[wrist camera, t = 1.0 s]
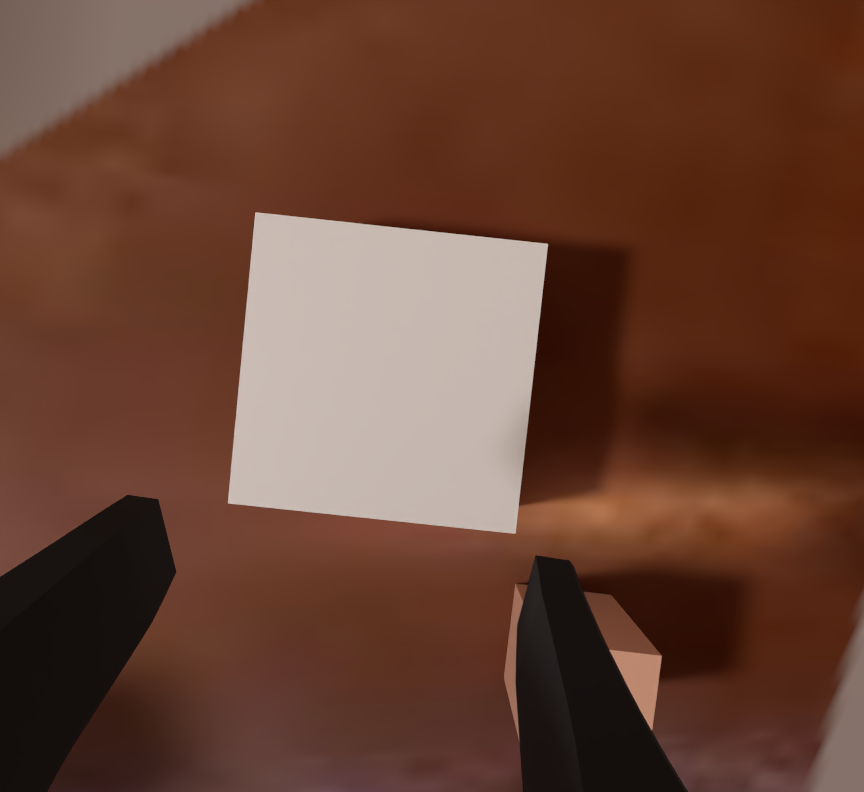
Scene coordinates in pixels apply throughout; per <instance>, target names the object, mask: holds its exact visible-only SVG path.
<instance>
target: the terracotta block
mask: <svg viewBox="0 0 864 792" xmlns="http://www.w3.org/2000/svg"><path fill="white" fill-rule="evenodd" d="M527 586H528V585H523V584H515V592H514V600H513V608H512V616H511V624H510V632H509V641H508V649H507V657H506V665H505V673H504V680H505V684H506V688H507V693H508V697H509V701H510V705H511V709H512V713H513V717H514V721H515V725H516V730H517V734H518V738H519V727H518V712H517V698H516V683H515V679H516V641H517V623H518V620H519V616H520V612H521V608H522V605H523V601H524V597H525V593H526V590H527ZM584 594H585V597H586V599H587V601H588V604H589V606H590V608H591V611H592V613H593V615H594V617H595V620H596V622H597V624H598V626H599V629H600V631H601V633H602V635H603V637H604V639H605V642H606V644H607V646H608V648H609V650H610V652H611V654H612V656H613V658H614V660H615V662H616V664H617V666H618V668H619V670H620V672H621V674H622V676H623V678H624V680H625V682H626V684H627V686H628V688H629V690H630V692H631V694H632V696H633V697H634V699H635V701H636V703H637V705H638V707H639V709H640V711H641V712H642V714H643V716H644V718H645V720H646V721H647V723H648V725H649V727H650V728H651V730H652V727H653V719H654V712H655V704H656V697H657V689H658V682H659V674H660V667H661V659H662V655H661V654H660V653H659V652H658V651H657V649H656V648H655V647H654V646H653V645H652V643H651V642H650V641H649V640H648V639H647V637H646V636H645V635H644V634H643V633H642V631H641V630H640V629H639V628H638V626H637V625H636V624H635V623H634V622H633V620H632V619H631V618H630V617H629V616H628V614H627V613H626V612H625V611H624V610H623V608H622V607H621V606H620V605H619V604H618V602H617V601H616V600H615V599H614V598H613V596H612V595H609V594H600V593H592V592H584ZM519 742H520V741H519Z"/></svg>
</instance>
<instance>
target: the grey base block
mask: <svg viewBox="0 0 864 792" xmlns="http://www.w3.org/2000/svg"><path fill="white" fill-rule="evenodd" d="M547 249H548V244H545V243H535V242H526V241H517V240H507V239H498V238H489V237H479V236H470V235H461V234H451V233H442V232H433V231H424V230H414V229H405V228H396V227H386V226H377V225H368V224H358V223H349V222H340V221H330V220H321V219H312V218H302V217H293V216H284V215H274V214H265V213H256V212H255V222H254V233H253V243H252V254H251V265H250V275H249V286H248V296H247V307H246V317H245V328H244V339H243V349H242V360H241V370H240V381H239V391H238V402H237V413H236V423H235V434H234V444H233V455H232V465H231V476H230V487H229V497H228V503H230V504H240V505H249V506H259V507H268V508H278V509H287V510H296V511H306V512H315V513H325V514H334V515H344V516H353V517H363V518H372V519H382V520H391V521H400V522H410V523H419V524H429V525H438V526H448V527H457V528H467V529H476V530H485V531H495V532H504V533H514V534H516V525H517V516H518V507H519V498H520V489H521V480H522V471H523V463H524V454H525V445H526V436H527V427H528V418H529V409H530V400H531V391H532V383H533V374H534V365H535V356H536V347H537V338H538V329H539V320H540V312H541V303H542V294H543V285H544V276H545V267H546V258H547Z"/></svg>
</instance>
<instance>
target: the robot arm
mask: <svg viewBox="0 0 864 792" xmlns="http://www.w3.org/2000/svg"><path fill="white" fill-rule="evenodd" d="M175 574H176V569H175V565H174V561H173V557H172V553H171V549H170V545H169V541H168V537H167V533H166V529H165V525H164V521H163V517H162V513H161V509H160V505H159V501H158V499H152V498H145V497H138V496H132V495H127V496H125V497H124V498H122V499H120V500H119V501H117V502H115V503H114V504H112V505H111V506H109V507H108V508H106V509H104V510H103V511H101V512H100V513H98V514H97V515H95V516H94V517H92V518H91V519H89V520H88V521H86V522H85V523H83V524H81V525H80V526H78V527H77V528H75V529H74V530H72V531H71V532H69V533H68V534H66V535H65V536H63V537H62V538H60V539H59V540H57V541H56V542H54V543H53V544H51V545H49V546H48V547H46V548H45V549H43V550H42V551H40V552H38V553H37V554H35V555H34V556H32V557H31V558H29V559H28V560H26V561H24V562H23V563H21V564H20V565H18V566H17V567H15V568H14V569H12V570H10V571H9V572H7V573H6V574H4V575H3V576H1V577H0V792H47V791H48V789H49V787H50V785H51V783H52V781H53V780H54V778H55V776H56V774H57V772H58V770H59V769H60V767H61V765H62V763H63V762H64V760H65V758H66V757H67V755H68V753H69V752H70V750H71V748H72V747H73V745H74V743H75V742H76V740H77V739H78V737H79V736H80V734H81V732H82V731H83V729H84V728H85V726H86V725H87V723H88V722H89V720H90V719H91V717H92V715H93V714H94V712H95V711H96V709H97V708H98V706H99V705H100V703H101V701H102V700H103V698H104V697H105V695H106V694H107V692H108V691H109V689H110V688H111V686H112V684H113V683H114V681H115V680H116V678H117V677H118V675H119V674H120V672H121V671H122V669H123V667H124V666H125V664H126V663H127V661H128V660H129V658H130V656H131V655H132V653H133V652H134V650H135V649H136V647H137V645H138V644H139V642H140V641H141V639H142V638H143V636H144V634H145V633H146V631H147V630H148V628H149V626H150V625H151V623H152V621H153V619H154V617H155V615H156V613H157V611H158V609H159V607H160V605H161V603H162V601H163V599H164V597H165V595H166V593H167V591H168V589H169V586H170V584H171V582H172V580H173V578H174V576H175ZM515 683H516V698H517V712H518V727H519V741H520V754H521V768H522V781H523V792H688V791H687V789H686V788H685V786H684V785H683V783H682V781H681V780H680V778H679V777H678V775H677V773H676V772H675V770H674V768H673V767H672V765H671V763H670V762H669V760H668V758H667V756H666V755H665V753H664V751H663V750H662V748H661V746H660V745H659V743H658V741H657V739H656V737H655V736H654V734H653V732H652V730H651V728H650V727H649V725H648V723H647V721H646V720H645V718H644V716H643V714H642V712H641V711H640V709H639V707H638V705H637V703H636V701H635V699H634V697H633V696H632V694H631V692H630V690H629V688H628V686H627V684H626V682H625V680H624V678H623V676H622V674H621V672H620V670H619V668H618V666H617V664H616V662H615V660H614V658H613V656H612V654H611V652H610V650H609V648H608V646H607V644H606V642H605V639H604V637H603V635H602V633H601V631H600V629H599V626H598V624H597V622H596V620H595V617H594V615H593V613H592V611H591V608H590V606H589V604H588V601H587V599H586V597H585V594H584V592H583V589H582V587H581V584H580V582H579V579H578V577H577V574H576V571H575V568H574V566H573V565H572V563H571V562H570V561H569V560H562V559H555V558H549V557H542V556H535V560H534V564H533V567H532V571H531V575H530V578H529V582H528V586H527V590H526V593H525V597H524V601H523V605H522V608H521V612H520V616H519V620H518V623H517V641H516V679H515Z"/></svg>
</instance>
